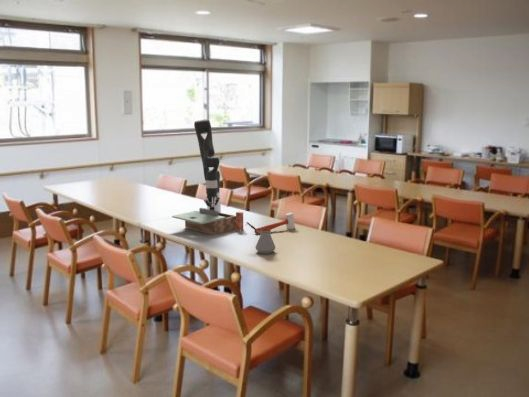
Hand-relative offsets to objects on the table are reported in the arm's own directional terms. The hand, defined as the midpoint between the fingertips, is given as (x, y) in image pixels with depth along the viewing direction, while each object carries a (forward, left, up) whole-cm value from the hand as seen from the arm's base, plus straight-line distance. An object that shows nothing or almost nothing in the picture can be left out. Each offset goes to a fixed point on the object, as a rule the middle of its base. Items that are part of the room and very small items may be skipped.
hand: (212, 212), depth 352 cm
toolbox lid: (+12, 0, -2) cm, 12 cm away
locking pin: (-9, +17, -11) cm, 22 cm away
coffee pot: (+17, +57, -11) cm, 61 cm away
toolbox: (+1, 0, -11) cm, 11 cm away
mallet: (-22, +36, -11) cm, 44 cm away
